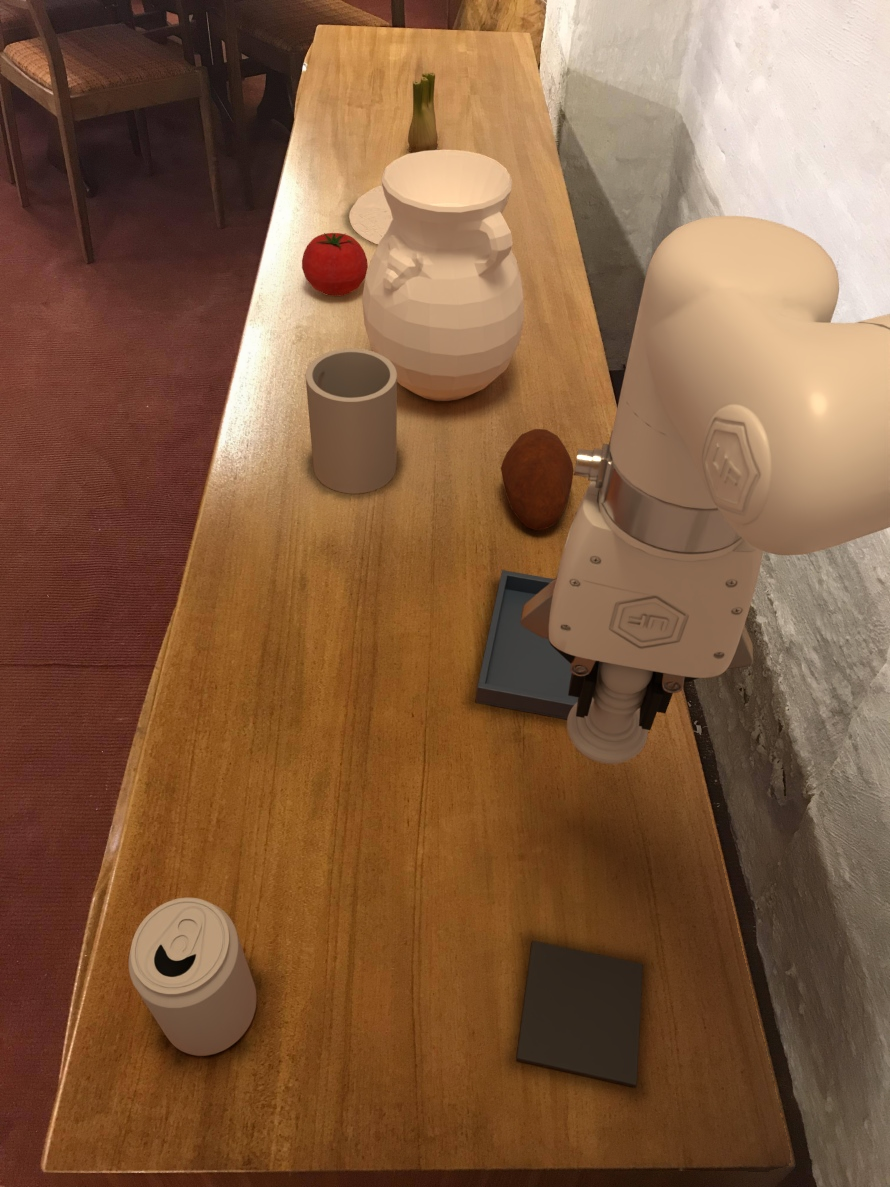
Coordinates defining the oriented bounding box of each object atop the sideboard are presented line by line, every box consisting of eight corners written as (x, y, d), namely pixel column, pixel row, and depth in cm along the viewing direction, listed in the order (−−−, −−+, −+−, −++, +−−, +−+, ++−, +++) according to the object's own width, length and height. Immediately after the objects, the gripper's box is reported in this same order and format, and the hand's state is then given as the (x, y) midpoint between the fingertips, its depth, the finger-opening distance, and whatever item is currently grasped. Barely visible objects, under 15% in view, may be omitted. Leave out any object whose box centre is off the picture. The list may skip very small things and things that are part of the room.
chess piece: (643, 701, 62) (669, 618, 55) (649, 769, 58) (677, 691, 51) (565, 695, 62) (581, 613, 55) (566, 764, 58) (584, 684, 52)
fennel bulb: (414, 160, 152) (416, 82, 143) (400, 148, 154) (400, 72, 145) (444, 153, 154) (447, 77, 145) (429, 142, 156) (431, 67, 147)
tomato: (381, 286, 125) (380, 230, 119) (342, 313, 119) (339, 257, 113) (330, 266, 127) (327, 211, 121) (290, 292, 122) (285, 236, 116)
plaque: (424, 175, 147) (424, 166, 146) (507, 225, 138) (507, 216, 136) (323, 215, 139) (322, 205, 138) (404, 271, 129) (404, 262, 128)
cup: (395, 494, 97) (395, 403, 88) (310, 492, 96) (301, 400, 87) (397, 440, 103) (397, 349, 94) (317, 438, 102) (310, 347, 93)
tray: (602, 726, 78) (606, 711, 76) (475, 702, 79) (477, 687, 78) (613, 605, 87) (618, 589, 86) (500, 585, 89) (502, 569, 87)
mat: (635, 1087, 59) (637, 1085, 59) (515, 1060, 60) (516, 1058, 60) (641, 966, 65) (643, 963, 64) (531, 943, 65) (532, 940, 65)
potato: (499, 537, 93) (506, 479, 87) (496, 464, 101) (502, 406, 95) (572, 540, 93) (584, 482, 87) (564, 467, 101) (574, 409, 95)
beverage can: (146, 1044, 60) (102, 984, 51) (187, 950, 64) (153, 879, 55) (236, 1070, 59) (208, 1014, 50) (271, 973, 63) (251, 905, 54)
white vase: (334, 372, 111) (321, 166, 92) (445, 321, 119) (455, 123, 101) (433, 448, 102) (442, 237, 83) (546, 388, 110) (577, 184, 92)
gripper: (500, 509, 42) (476, 729, 56) (862, 569, 40) (746, 780, 54) (523, 415, 47) (496, 638, 61) (846, 464, 45) (744, 682, 59)
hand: (614, 703), depth 57 cm, fingers closed on chess piece, 3 cm apart
